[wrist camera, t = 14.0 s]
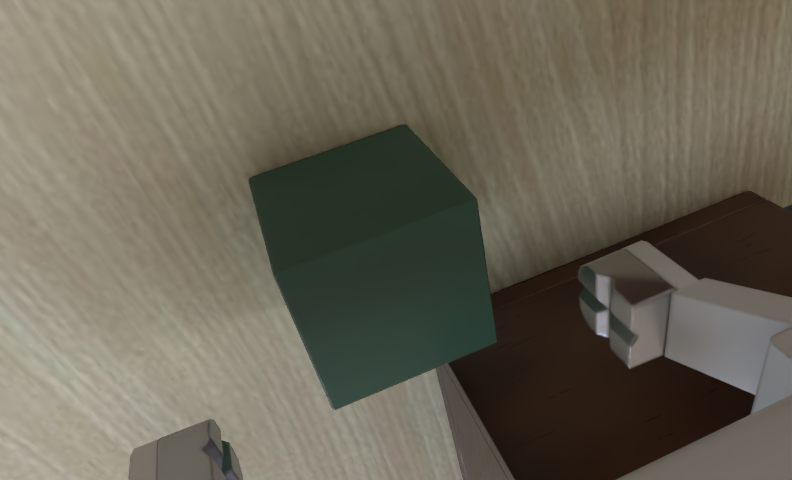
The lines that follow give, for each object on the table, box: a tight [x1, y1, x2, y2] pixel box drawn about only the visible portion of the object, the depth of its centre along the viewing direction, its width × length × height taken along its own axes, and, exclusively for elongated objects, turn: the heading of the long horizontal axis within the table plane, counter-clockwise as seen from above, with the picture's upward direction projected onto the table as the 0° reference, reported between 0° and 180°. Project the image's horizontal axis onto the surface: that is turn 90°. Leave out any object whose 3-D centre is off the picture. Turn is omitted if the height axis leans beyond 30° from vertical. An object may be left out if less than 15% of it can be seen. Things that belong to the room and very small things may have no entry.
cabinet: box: [436, 191, 792, 480], centre depth 21 cm, size 14×12×9 cm
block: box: [249, 125, 497, 410], centre depth 15 cm, size 4×4×4 cm
